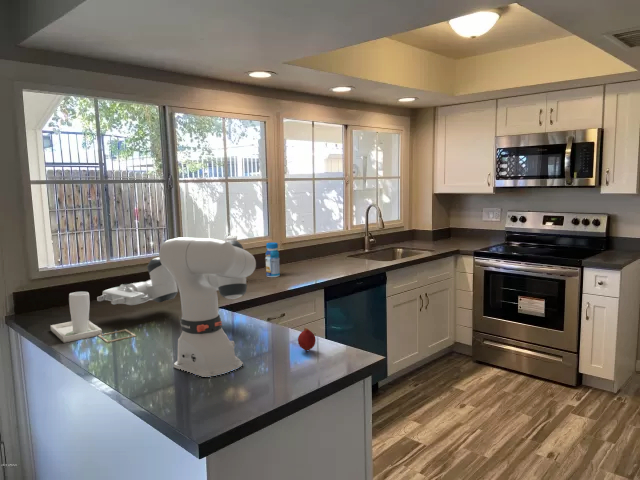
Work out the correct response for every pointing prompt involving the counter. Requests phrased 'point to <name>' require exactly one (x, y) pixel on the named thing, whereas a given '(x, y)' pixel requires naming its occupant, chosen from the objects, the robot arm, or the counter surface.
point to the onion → (306, 339)
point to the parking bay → (116, 339)
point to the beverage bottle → (272, 260)
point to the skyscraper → (230, 238)
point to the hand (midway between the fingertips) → (104, 300)
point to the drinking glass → (79, 311)
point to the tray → (67, 335)
